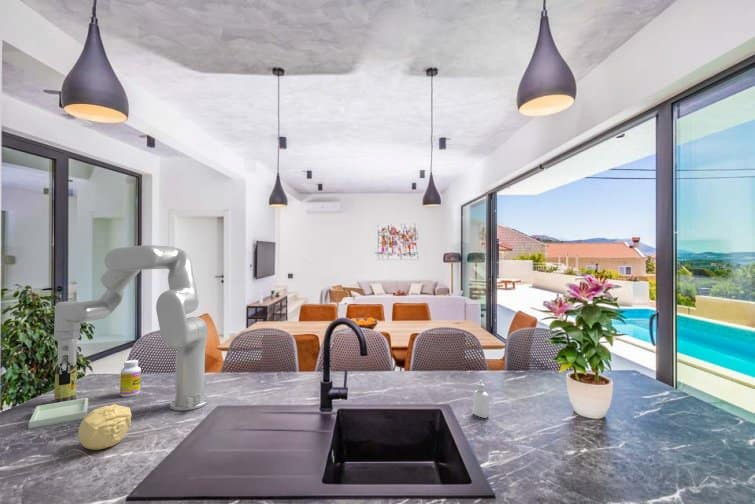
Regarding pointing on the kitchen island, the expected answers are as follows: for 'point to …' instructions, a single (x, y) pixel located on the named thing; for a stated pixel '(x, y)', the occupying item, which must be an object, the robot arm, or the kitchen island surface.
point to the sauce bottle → (65, 386)
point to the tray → (59, 413)
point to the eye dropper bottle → (481, 401)
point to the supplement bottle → (130, 379)
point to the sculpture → (104, 427)
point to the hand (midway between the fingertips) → (65, 381)
